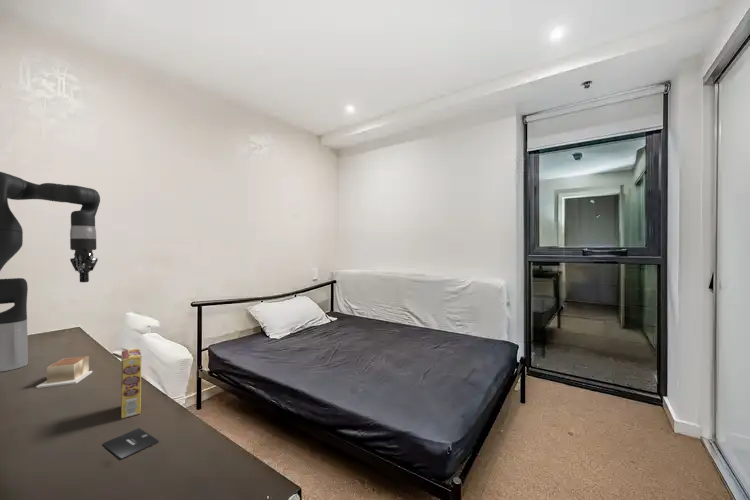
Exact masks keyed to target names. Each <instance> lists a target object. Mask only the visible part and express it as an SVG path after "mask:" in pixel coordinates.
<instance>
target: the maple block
mask: <svg viewBox="0 0 750 500" xmlns="http://www.w3.org/2000/svg"><path fill="white" fill-rule="evenodd" d="M89 360H90V356H89V355H87V356H86V355H85V356H75V357H65V358H62V359H60V360H58V361H56V362H54V363H52V364H51V365H49V366H47V367H46V380H47V383H51V382H60V381H68V380H75V379H76V378H78V377H79V376H81V375H82V374H84V373H85V372H87V371H90V361H89Z"/></svg>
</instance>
